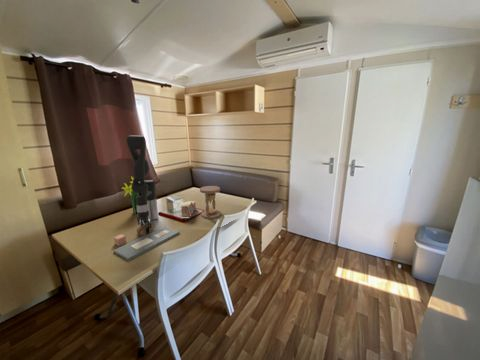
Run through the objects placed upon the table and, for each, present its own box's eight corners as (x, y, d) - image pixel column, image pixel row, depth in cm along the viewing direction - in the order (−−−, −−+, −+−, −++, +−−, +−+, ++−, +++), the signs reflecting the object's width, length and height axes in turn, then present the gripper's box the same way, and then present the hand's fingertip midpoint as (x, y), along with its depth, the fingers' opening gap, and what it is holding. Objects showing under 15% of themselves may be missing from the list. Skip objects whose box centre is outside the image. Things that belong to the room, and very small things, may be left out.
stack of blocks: (189, 210, 192) (188, 197, 190) (195, 210, 192) (195, 198, 189) (182, 219, 172) (181, 205, 169) (189, 219, 171) (188, 206, 168)
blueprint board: (113, 252, 124) (113, 249, 124) (165, 228, 156) (164, 226, 155) (128, 260, 116) (128, 257, 116) (179, 233, 147) (179, 231, 147)
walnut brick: (137, 235, 145) (136, 228, 144) (147, 228, 155) (146, 222, 154) (143, 235, 144) (142, 229, 143) (152, 229, 153) (152, 223, 152)
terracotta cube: (114, 244, 134) (113, 237, 133) (122, 240, 138) (121, 234, 137) (118, 246, 131) (117, 239, 130) (126, 242, 135) (125, 236, 134)
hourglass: (213, 221, 168) (212, 192, 163) (196, 216, 177) (195, 189, 171) (224, 213, 183) (224, 187, 178) (209, 210, 192) (208, 184, 186)
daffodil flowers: (132, 218, 173) (127, 179, 165) (122, 215, 180) (117, 177, 172) (150, 212, 187) (146, 175, 179) (140, 209, 194) (136, 173, 186)
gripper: (131, 209, 146) (134, 231, 150) (144, 213, 139) (146, 236, 142) (141, 206, 152) (144, 227, 156) (153, 210, 145) (155, 231, 149)
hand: (145, 231), depth 149 cm, fingers closed on walnut brick, 6 cm apart
